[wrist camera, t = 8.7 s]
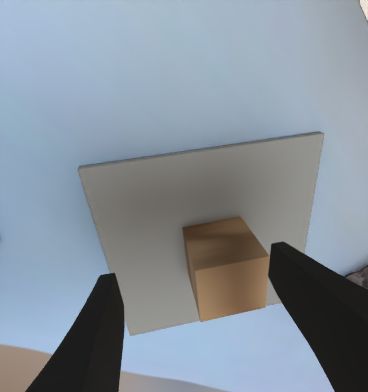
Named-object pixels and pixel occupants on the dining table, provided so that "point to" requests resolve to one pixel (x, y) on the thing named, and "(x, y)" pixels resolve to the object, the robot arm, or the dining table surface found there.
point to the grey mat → (195, 214)
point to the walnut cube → (225, 268)
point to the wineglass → (364, 7)
